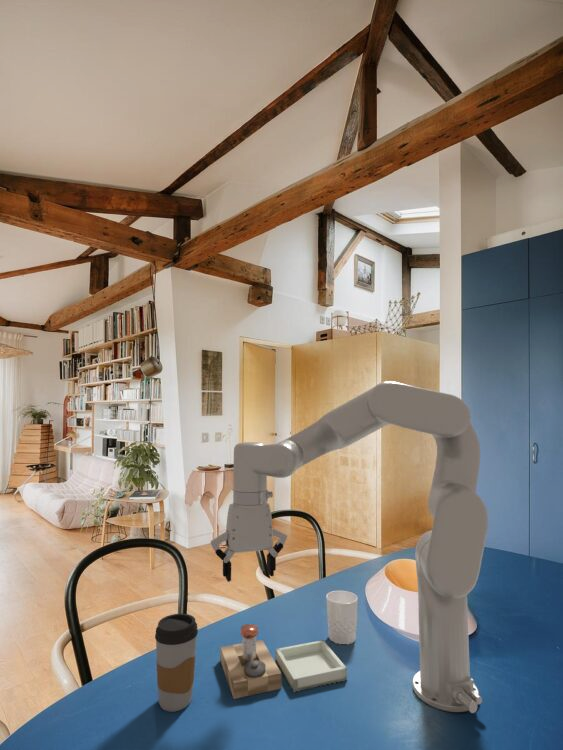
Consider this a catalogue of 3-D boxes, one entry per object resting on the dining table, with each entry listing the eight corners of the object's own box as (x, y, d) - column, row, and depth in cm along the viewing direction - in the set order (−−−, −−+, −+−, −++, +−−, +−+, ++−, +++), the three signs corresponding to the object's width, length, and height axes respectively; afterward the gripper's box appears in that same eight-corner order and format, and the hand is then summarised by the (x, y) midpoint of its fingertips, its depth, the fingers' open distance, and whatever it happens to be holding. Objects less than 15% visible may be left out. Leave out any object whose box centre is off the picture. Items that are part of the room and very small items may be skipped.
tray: (347, 680, 92) (346, 668, 92) (293, 692, 88) (293, 679, 88) (323, 651, 103) (323, 640, 104) (275, 660, 100) (275, 649, 100)
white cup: (357, 647, 105) (357, 604, 106) (325, 644, 106) (324, 602, 107) (358, 631, 113) (358, 591, 113) (328, 628, 114) (327, 589, 115)
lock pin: (260, 677, 93) (260, 631, 94) (242, 680, 92) (243, 633, 93) (255, 667, 97) (255, 622, 98) (238, 670, 96) (238, 625, 96)
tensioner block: (281, 688, 90) (281, 664, 90) (233, 698, 86) (233, 674, 87) (262, 652, 103) (262, 632, 103) (220, 660, 99) (220, 639, 100)
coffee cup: (179, 683, 91) (180, 608, 93) (205, 699, 86) (206, 620, 87) (144, 703, 85) (146, 623, 86) (170, 722, 80) (172, 637, 81)
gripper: (281, 492, 104) (281, 566, 103) (208, 497, 99) (207, 575, 97) (291, 498, 97) (291, 578, 96) (214, 503, 92) (213, 588, 90)
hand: (249, 576), depth 96 cm, fingers open, 9 cm apart
